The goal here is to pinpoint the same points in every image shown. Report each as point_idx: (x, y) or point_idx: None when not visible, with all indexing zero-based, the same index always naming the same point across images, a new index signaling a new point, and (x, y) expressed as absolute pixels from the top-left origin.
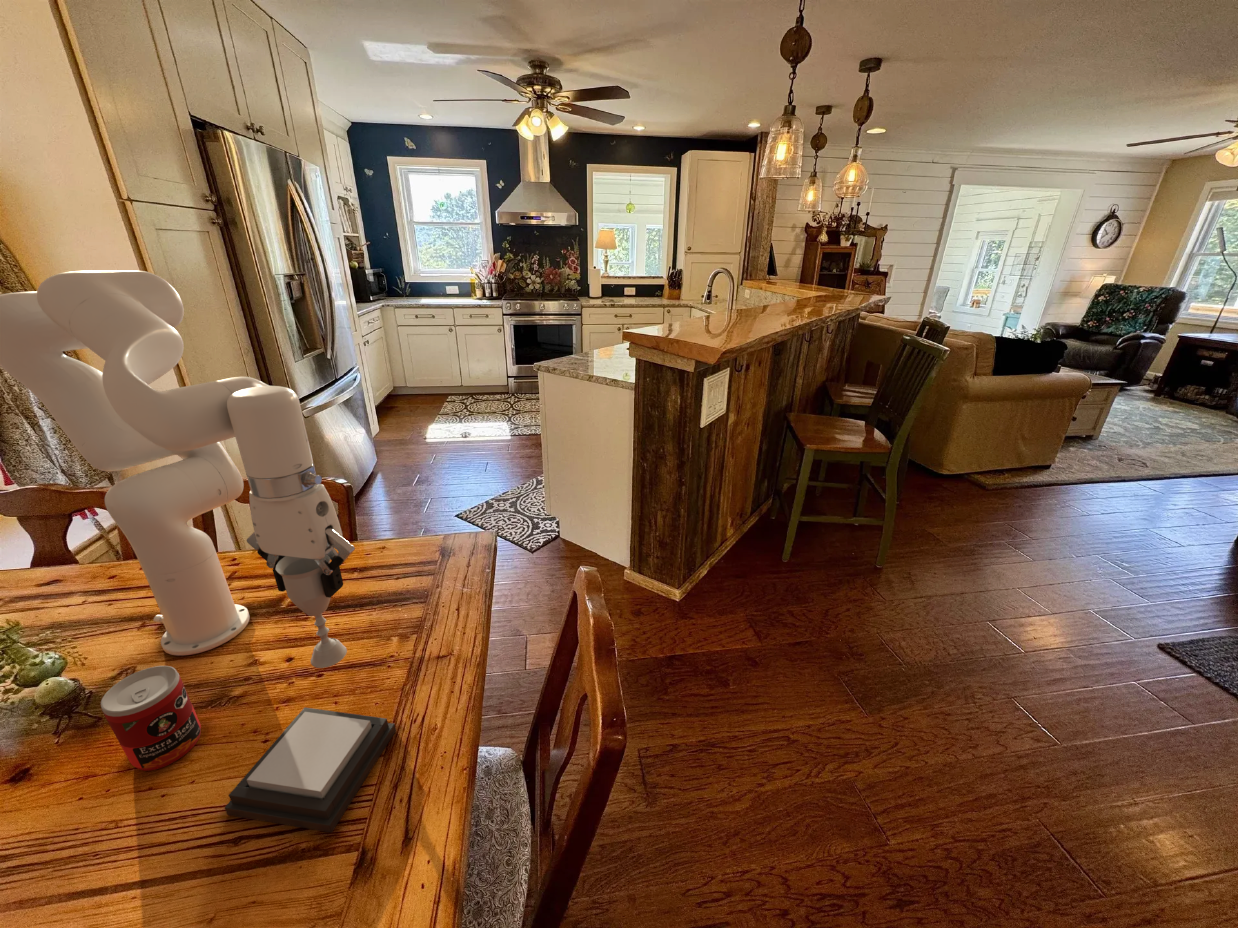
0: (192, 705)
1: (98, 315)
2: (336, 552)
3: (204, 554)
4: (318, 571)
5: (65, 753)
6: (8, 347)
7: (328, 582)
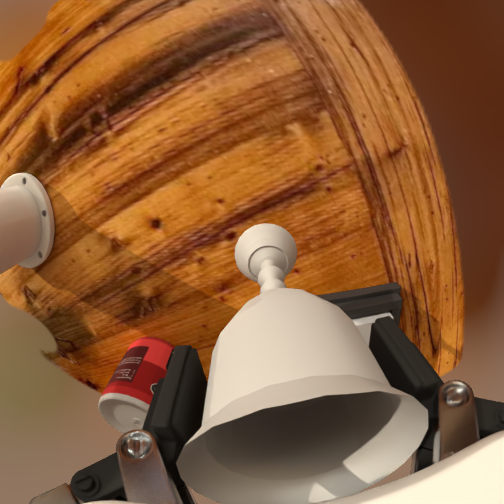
0: (153, 359)
1: None
2: (476, 431)
3: None
4: (389, 447)
5: (92, 370)
6: None
7: None
